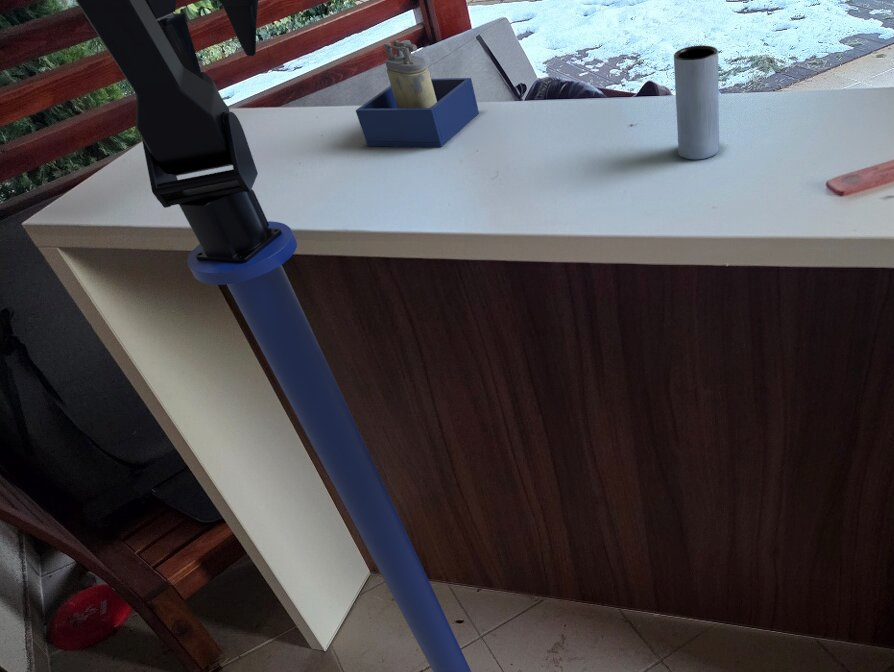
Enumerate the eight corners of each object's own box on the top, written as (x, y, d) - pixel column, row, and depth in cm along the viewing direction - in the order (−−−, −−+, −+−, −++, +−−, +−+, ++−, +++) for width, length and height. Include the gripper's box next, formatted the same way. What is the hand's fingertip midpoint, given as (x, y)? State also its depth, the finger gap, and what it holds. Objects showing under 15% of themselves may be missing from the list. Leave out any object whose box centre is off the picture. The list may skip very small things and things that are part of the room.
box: (441, 147, 95) (431, 109, 92) (367, 146, 98) (355, 110, 95) (479, 113, 102) (471, 77, 99) (409, 113, 106) (399, 79, 102)
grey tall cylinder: (725, 144, 84) (724, 45, 77) (710, 161, 82) (708, 60, 75) (687, 142, 86) (683, 44, 79) (672, 158, 83) (666, 59, 76)
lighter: (448, 124, 98) (427, 42, 92) (425, 135, 97) (402, 51, 90) (418, 116, 103) (395, 36, 96) (395, 125, 101) (370, 45, 94)
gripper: (158, -109, 83) (224, 45, 94) (18, -72, 71) (112, 100, 81) (237, -119, 79) (296, 42, 90) (104, -82, 67) (190, 99, 78)
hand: (225, 69), depth 85 cm, fingers open, 9 cm apart
